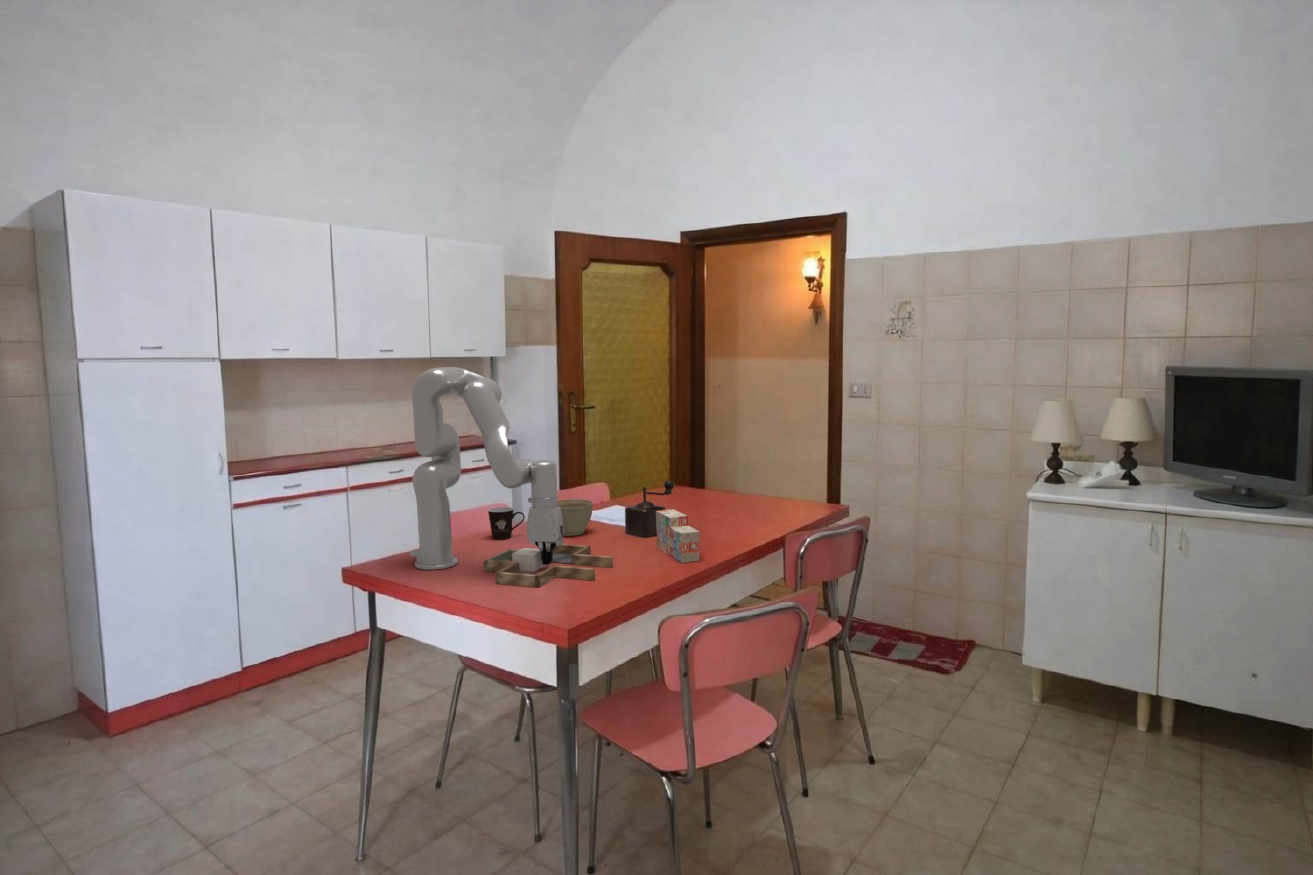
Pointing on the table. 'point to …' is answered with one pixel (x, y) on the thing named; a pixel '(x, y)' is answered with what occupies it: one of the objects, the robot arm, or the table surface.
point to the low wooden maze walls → (561, 554)
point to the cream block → (528, 559)
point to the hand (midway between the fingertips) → (547, 563)
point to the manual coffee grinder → (645, 514)
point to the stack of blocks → (677, 536)
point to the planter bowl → (575, 515)
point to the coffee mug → (502, 522)
